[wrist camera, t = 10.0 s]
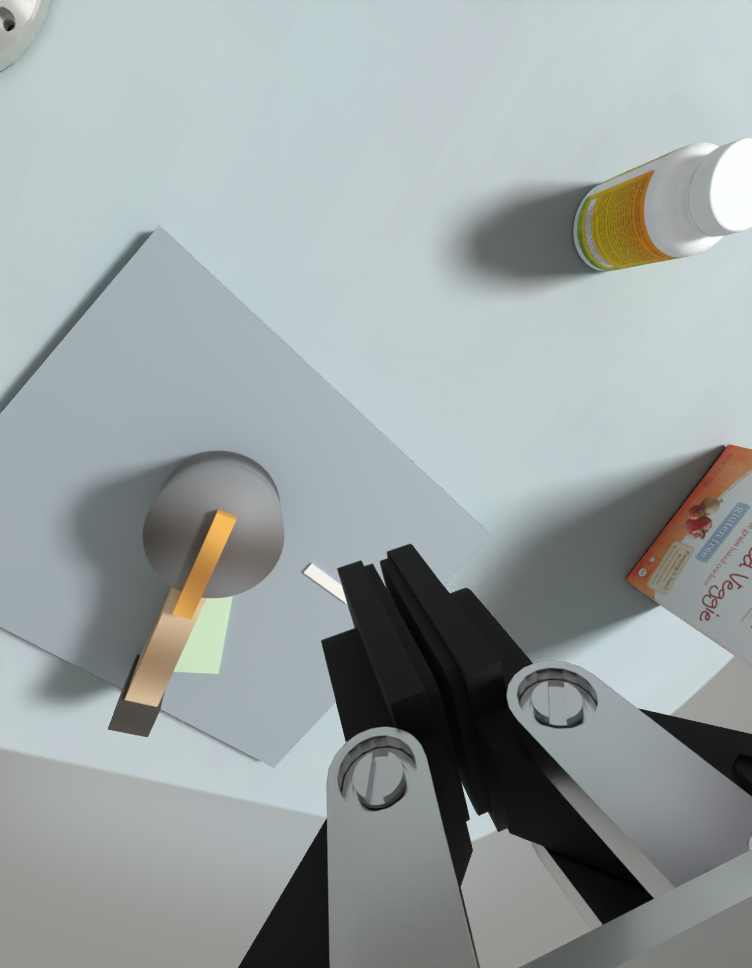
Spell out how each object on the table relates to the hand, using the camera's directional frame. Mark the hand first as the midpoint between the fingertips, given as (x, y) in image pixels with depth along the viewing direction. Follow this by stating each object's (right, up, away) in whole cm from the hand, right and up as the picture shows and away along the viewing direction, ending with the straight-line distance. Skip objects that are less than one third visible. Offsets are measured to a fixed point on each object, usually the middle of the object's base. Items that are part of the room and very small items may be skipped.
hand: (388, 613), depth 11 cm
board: (-10, -1, +22) cm, 24 cm away
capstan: (-12, -3, +20) cm, 24 cm away
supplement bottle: (+15, +20, +22) cm, 33 cm away
